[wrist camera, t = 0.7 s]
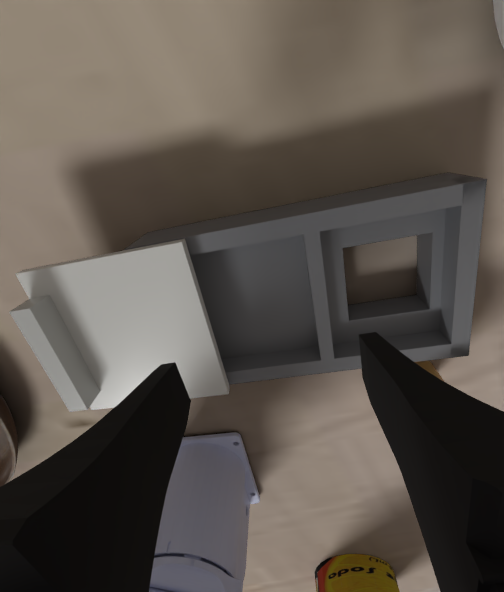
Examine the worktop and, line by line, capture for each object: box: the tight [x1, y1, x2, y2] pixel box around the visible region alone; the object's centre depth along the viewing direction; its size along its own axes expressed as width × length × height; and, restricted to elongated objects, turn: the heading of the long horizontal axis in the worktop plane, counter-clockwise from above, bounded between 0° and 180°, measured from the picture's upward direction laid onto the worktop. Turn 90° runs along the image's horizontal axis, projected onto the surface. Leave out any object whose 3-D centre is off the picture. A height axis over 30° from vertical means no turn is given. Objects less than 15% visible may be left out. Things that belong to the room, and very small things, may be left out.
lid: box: [10, 239, 230, 412], centre depth 18 cm, size 10×10×2 cm
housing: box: [125, 173, 487, 384], centre depth 19 cm, size 10×18×4 cm, turn 102°
